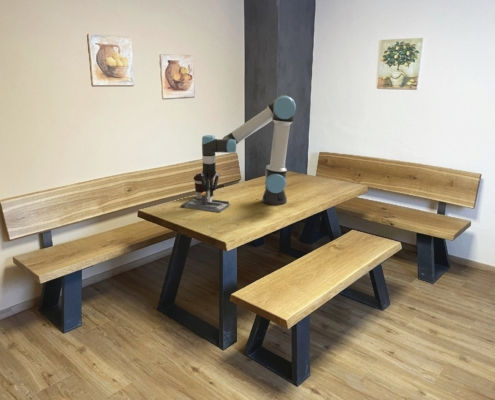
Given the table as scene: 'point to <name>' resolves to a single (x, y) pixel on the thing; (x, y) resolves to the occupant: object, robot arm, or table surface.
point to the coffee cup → (198, 186)
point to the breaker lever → (204, 198)
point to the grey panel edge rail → (186, 203)
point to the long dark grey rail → (213, 200)
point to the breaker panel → (206, 205)
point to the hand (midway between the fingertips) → (209, 201)
